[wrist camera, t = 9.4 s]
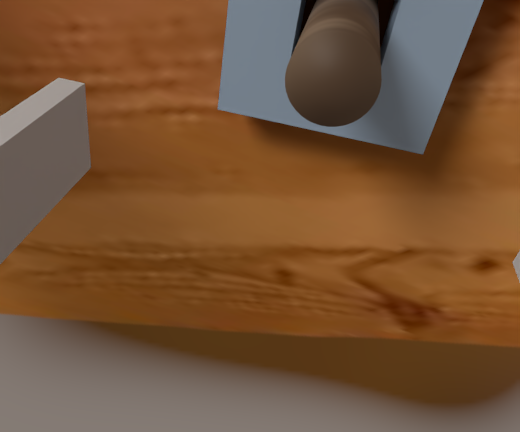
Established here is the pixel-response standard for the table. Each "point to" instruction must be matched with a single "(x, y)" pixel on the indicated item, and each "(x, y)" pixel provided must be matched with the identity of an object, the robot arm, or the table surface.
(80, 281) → the table surface
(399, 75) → the socket block
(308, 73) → the peg
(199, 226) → the table surface
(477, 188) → the table surface
